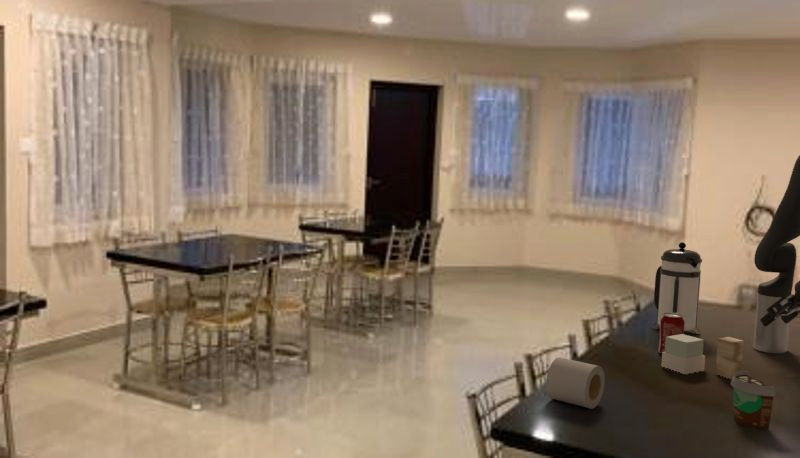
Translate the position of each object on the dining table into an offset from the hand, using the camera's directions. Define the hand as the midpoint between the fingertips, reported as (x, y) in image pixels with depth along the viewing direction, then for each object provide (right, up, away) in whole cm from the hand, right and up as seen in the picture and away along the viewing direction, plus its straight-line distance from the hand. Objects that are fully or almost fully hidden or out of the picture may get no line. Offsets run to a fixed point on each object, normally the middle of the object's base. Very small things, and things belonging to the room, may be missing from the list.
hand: (773, 321), depth 201 cm
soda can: (-15, -14, +32) cm, 38 cm away
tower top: (-17, -11, +17) cm, 26 cm away
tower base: (-17, -15, +17) cm, 29 cm away
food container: (-18, -20, -24) cm, 36 cm away
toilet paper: (-54, -18, -14) cm, 59 cm away
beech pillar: (-7, -16, +12) cm, 21 cm away
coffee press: (-4, -10, +62) cm, 63 cm away
